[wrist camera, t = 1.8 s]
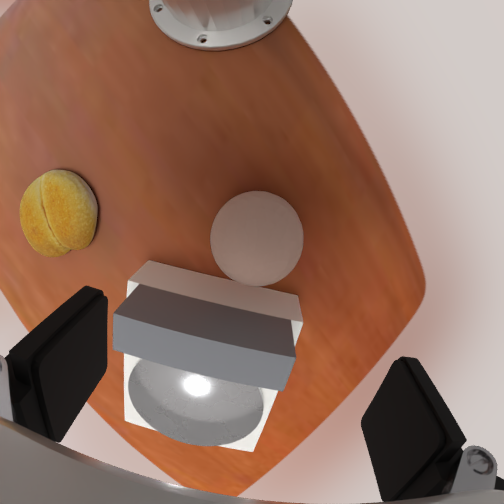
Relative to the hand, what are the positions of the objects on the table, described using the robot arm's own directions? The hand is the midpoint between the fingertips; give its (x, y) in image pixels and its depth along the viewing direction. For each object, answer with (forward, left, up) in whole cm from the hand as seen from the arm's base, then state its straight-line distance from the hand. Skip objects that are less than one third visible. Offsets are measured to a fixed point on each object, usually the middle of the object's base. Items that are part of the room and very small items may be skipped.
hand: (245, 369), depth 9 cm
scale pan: (+16, -2, -14) cm, 21 cm away
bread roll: (+3, -19, -19) cm, 27 cm away
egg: (0, 0, -19) cm, 19 cm away
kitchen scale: (+14, -2, -19) cm, 23 cm away
